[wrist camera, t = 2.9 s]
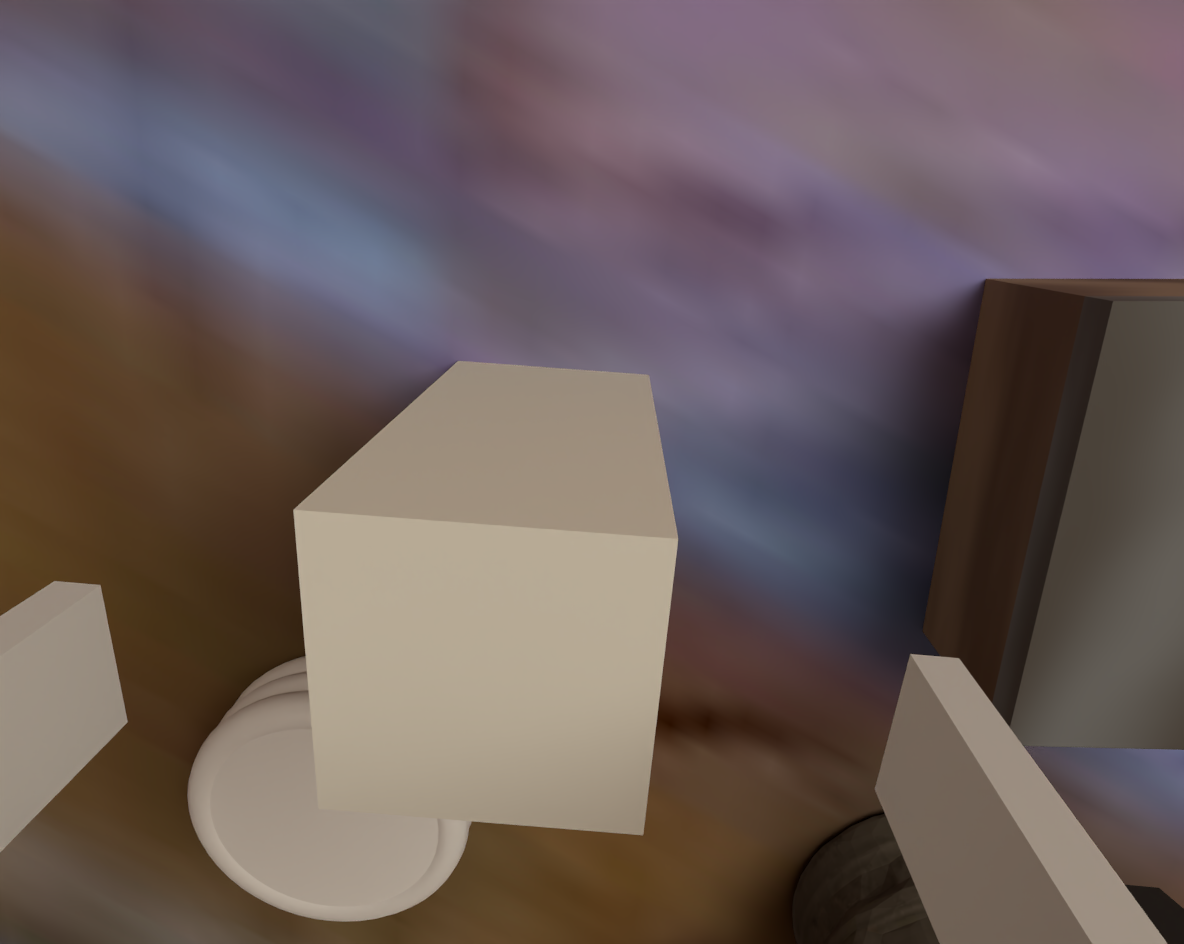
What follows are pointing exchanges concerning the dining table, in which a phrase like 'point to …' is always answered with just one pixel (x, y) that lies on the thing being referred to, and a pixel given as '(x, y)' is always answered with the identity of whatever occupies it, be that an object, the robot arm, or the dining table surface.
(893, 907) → the beer stein
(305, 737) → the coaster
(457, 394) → the cream block
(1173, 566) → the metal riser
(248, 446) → the dining table surface
